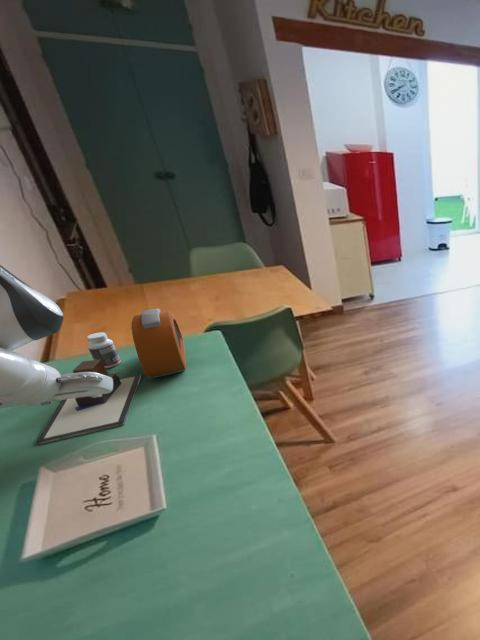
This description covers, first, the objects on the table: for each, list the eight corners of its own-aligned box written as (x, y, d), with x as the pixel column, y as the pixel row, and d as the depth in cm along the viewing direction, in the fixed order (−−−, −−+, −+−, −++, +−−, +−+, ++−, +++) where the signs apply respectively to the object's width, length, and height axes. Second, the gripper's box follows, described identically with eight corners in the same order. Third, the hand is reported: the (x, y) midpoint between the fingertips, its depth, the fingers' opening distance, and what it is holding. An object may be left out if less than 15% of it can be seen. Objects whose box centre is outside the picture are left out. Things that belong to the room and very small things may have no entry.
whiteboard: (36, 445, 92) (34, 443, 92) (70, 389, 112) (69, 387, 112) (124, 424, 99) (123, 422, 99) (141, 375, 119) (140, 373, 119)
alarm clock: (188, 375, 120) (169, 322, 113) (148, 384, 115) (126, 329, 108) (185, 344, 137) (169, 297, 129) (150, 351, 132) (131, 302, 125)
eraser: (105, 403, 106) (90, 372, 102) (78, 407, 104) (63, 376, 100) (121, 383, 114) (108, 354, 110) (97, 386, 112) (83, 357, 108)
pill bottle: (93, 366, 123) (79, 336, 118) (115, 358, 127) (102, 329, 123) (103, 370, 121) (89, 340, 116) (125, 362, 125) (112, 333, 121)
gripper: (93, 361, 91) (128, 377, 103) (-36, 376, 84) (17, 392, 96) (92, 389, 89) (127, 402, 101) (-41, 407, 82) (14, 419, 94)
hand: (73, 397), depth 99 cm, fingers open, 8 cm apart
